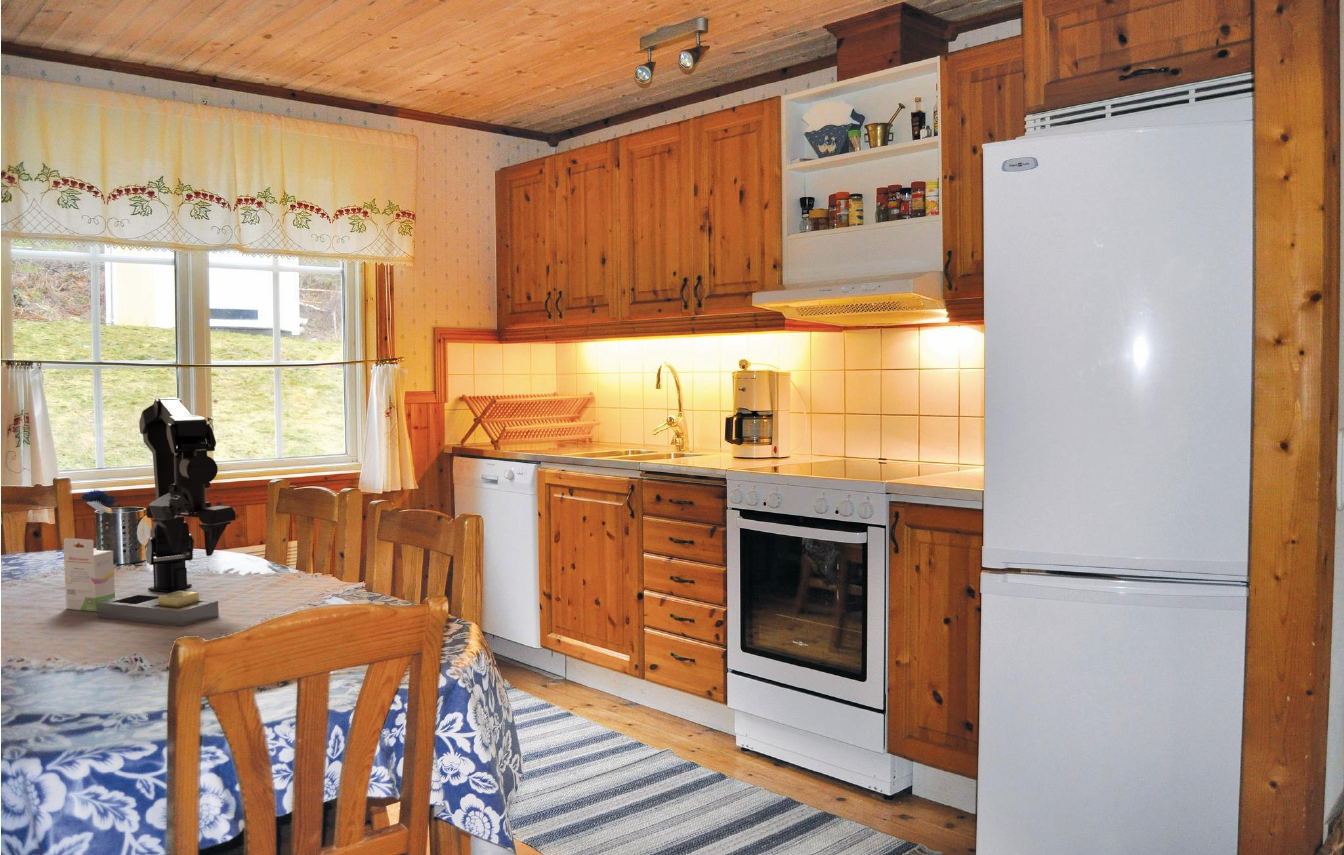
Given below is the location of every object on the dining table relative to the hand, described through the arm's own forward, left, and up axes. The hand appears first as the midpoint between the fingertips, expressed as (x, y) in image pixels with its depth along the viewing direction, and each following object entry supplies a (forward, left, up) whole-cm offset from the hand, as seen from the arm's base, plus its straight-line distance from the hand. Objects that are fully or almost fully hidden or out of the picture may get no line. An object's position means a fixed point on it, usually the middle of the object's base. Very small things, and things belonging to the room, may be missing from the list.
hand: (192, 553), depth 208 cm
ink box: (-20, -8, -11) cm, 24 cm away
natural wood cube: (+5, -9, -11) cm, 15 cm away
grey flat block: (0, -9, -11) cm, 14 cm away
